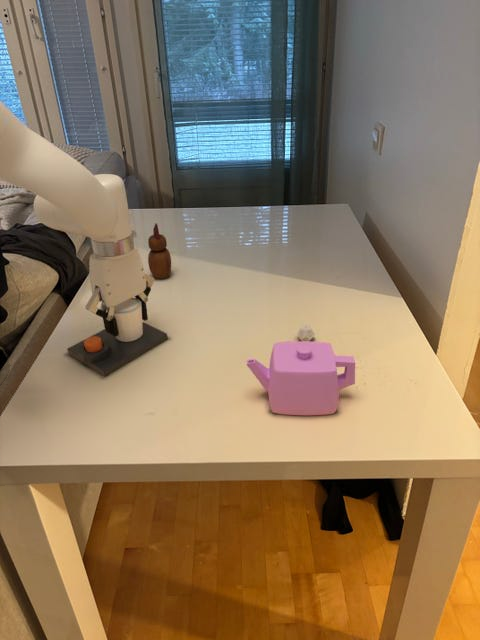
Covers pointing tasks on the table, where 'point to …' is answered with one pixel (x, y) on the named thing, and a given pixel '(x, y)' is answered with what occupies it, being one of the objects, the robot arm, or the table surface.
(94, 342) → the button
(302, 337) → the game die
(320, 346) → the teapot
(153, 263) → the wooden figurine
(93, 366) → the scale
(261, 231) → the table surface
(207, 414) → the table surface
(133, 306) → the beige cup
